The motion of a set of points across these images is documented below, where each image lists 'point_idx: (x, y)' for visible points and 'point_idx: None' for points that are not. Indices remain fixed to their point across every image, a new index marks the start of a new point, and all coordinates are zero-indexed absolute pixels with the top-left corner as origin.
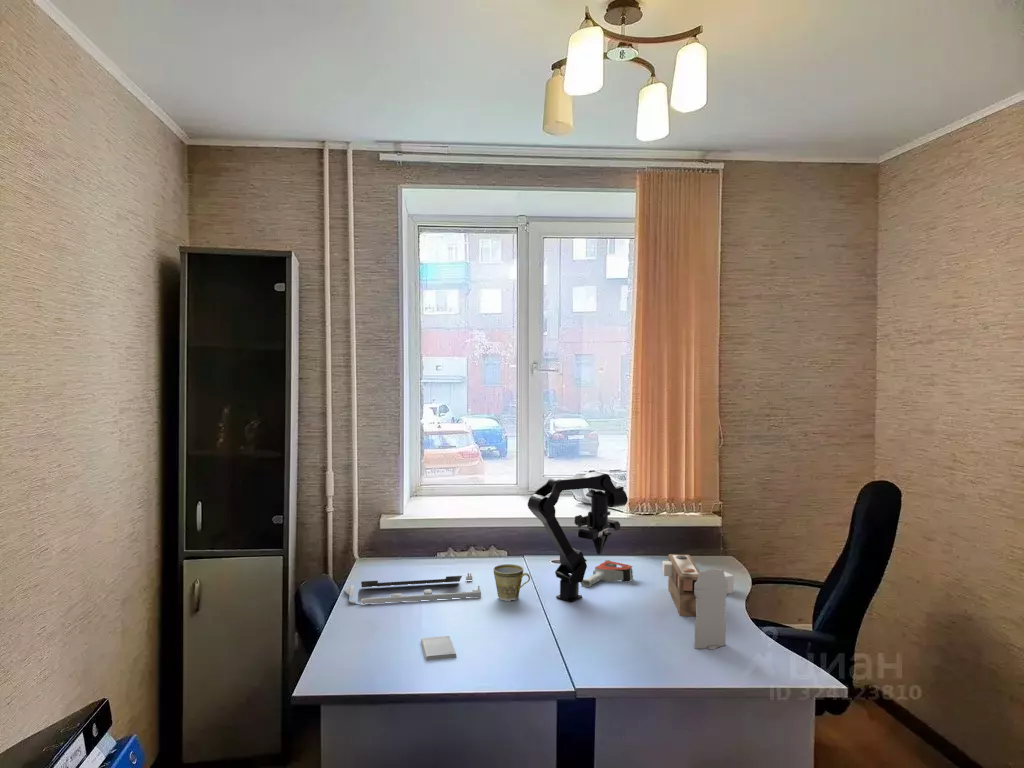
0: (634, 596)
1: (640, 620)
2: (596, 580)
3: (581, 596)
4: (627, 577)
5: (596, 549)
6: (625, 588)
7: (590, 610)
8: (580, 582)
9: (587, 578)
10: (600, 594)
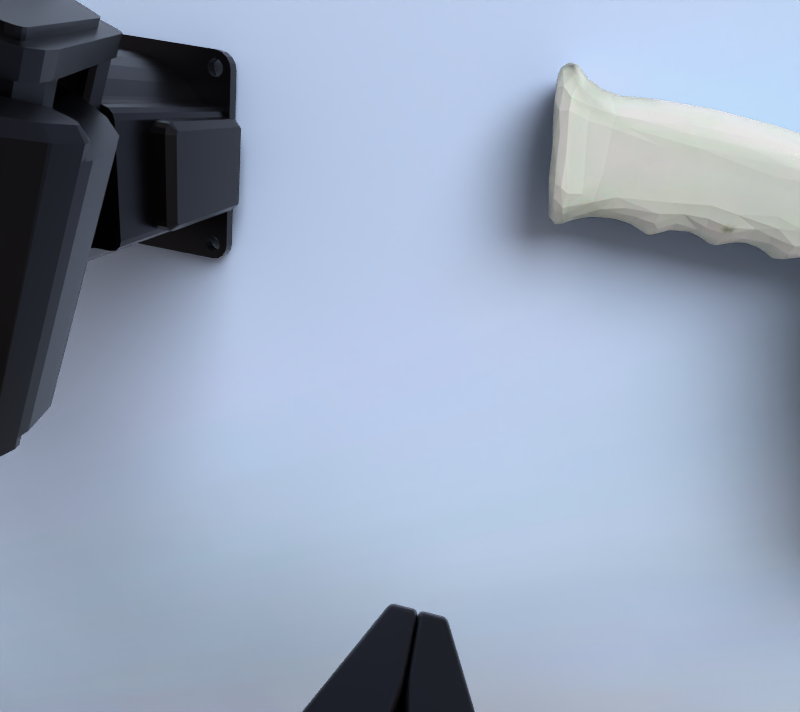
0: (498, 601)
1: (131, 680)
2: (698, 235)
3: (206, 256)
4: None
5: (329, 693)
6: (669, 510)
7: (50, 409)
8: (561, 69)
9: (631, 145)
10: (399, 367)
